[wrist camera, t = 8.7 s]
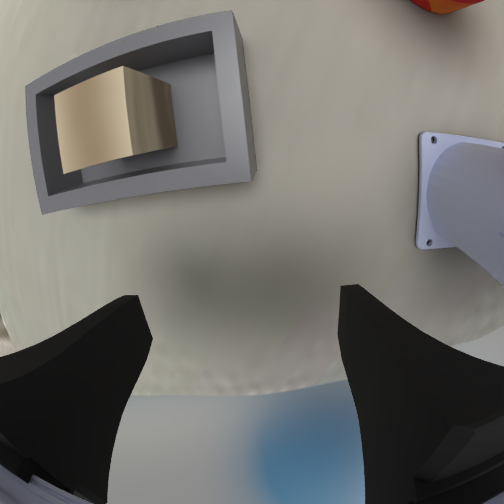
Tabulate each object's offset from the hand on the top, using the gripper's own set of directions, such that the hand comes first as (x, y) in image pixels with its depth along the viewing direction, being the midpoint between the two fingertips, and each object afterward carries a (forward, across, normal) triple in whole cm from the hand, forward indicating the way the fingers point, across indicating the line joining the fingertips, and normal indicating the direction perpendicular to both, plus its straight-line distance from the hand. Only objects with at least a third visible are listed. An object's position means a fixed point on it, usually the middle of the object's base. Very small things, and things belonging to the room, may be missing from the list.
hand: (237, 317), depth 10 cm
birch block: (+9, +6, -8) cm, 13 cm away
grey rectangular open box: (+9, +6, -8) cm, 14 cm away
